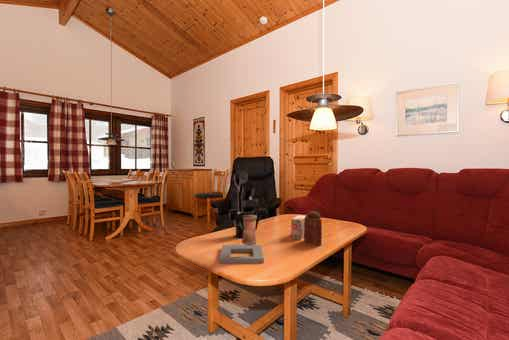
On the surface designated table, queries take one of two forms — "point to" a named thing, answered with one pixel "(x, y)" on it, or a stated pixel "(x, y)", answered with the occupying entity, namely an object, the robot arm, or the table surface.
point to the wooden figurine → (313, 228)
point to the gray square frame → (238, 249)
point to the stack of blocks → (297, 227)
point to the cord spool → (249, 229)
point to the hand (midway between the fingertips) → (249, 229)
